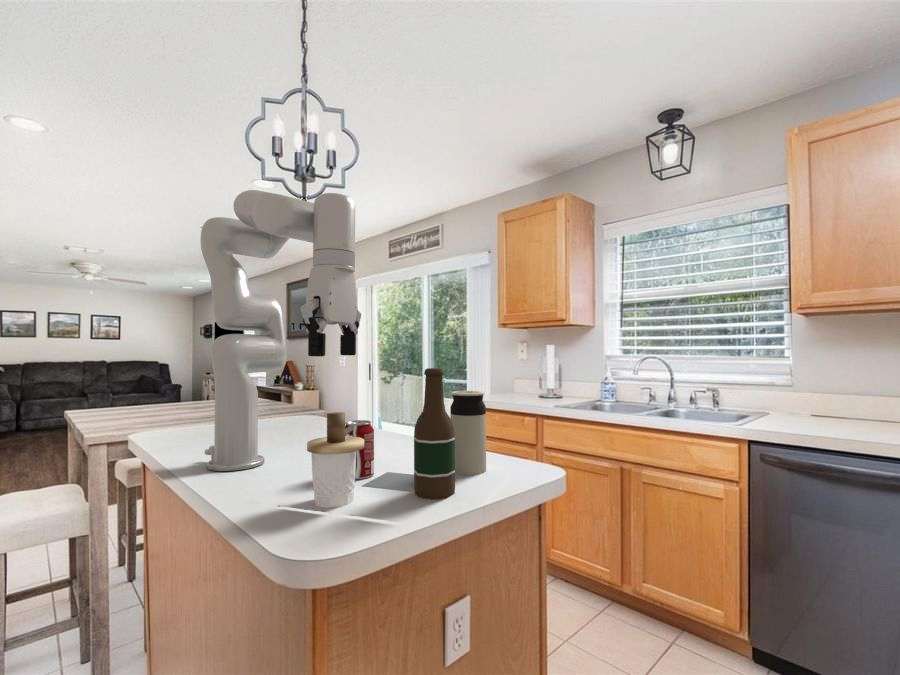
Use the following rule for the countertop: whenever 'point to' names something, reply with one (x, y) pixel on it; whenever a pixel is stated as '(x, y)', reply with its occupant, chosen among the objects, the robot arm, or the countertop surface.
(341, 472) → the white cup
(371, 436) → the soda can
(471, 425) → the travel mug
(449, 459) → the beer bottle
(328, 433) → the lid
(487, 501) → the countertop surface
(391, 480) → the mat
